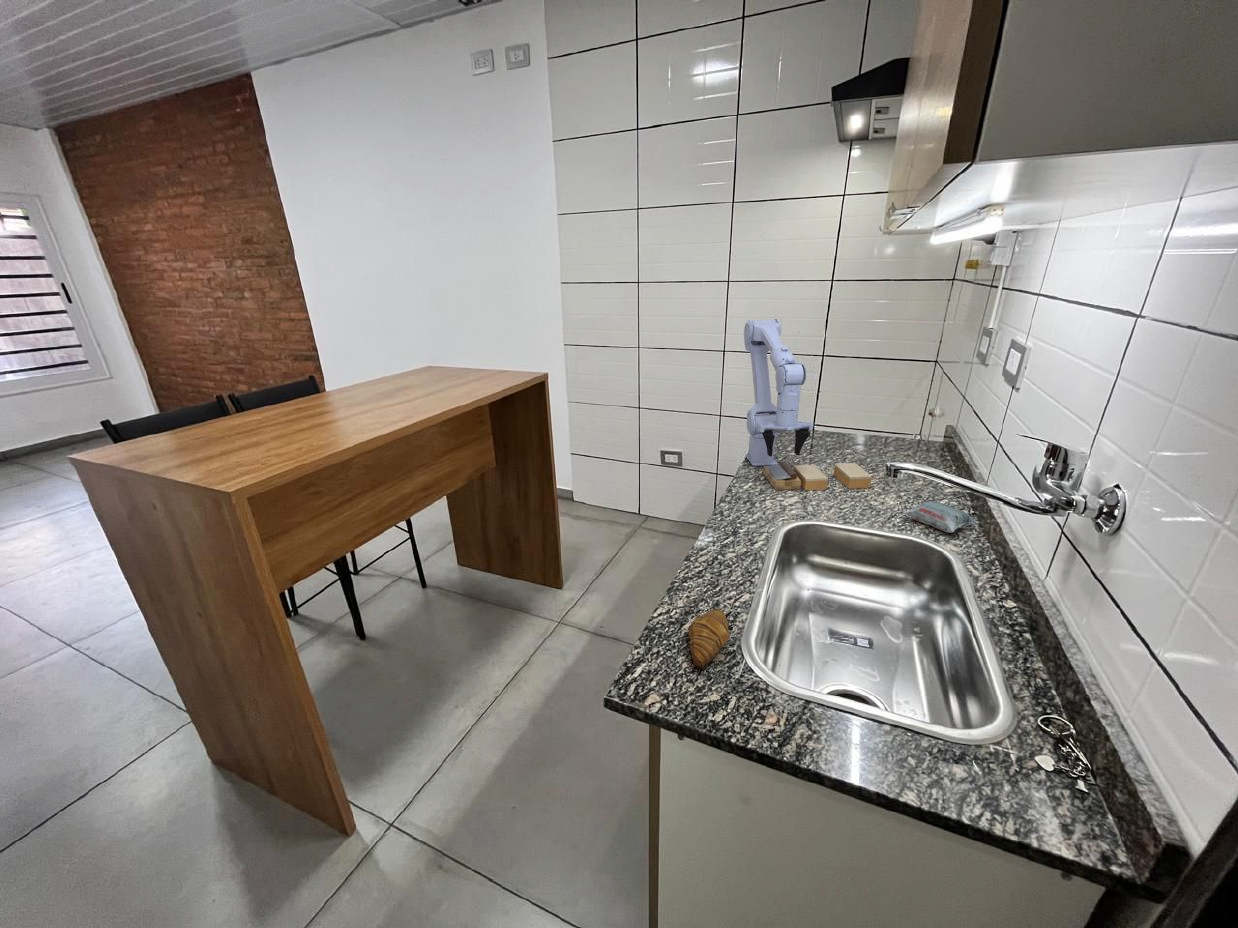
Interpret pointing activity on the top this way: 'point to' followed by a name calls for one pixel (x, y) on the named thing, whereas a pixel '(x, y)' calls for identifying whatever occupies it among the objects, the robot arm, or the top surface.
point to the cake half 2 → (852, 475)
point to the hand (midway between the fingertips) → (783, 454)
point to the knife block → (781, 481)
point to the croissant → (707, 637)
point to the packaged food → (940, 516)
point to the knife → (782, 471)
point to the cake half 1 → (811, 477)
